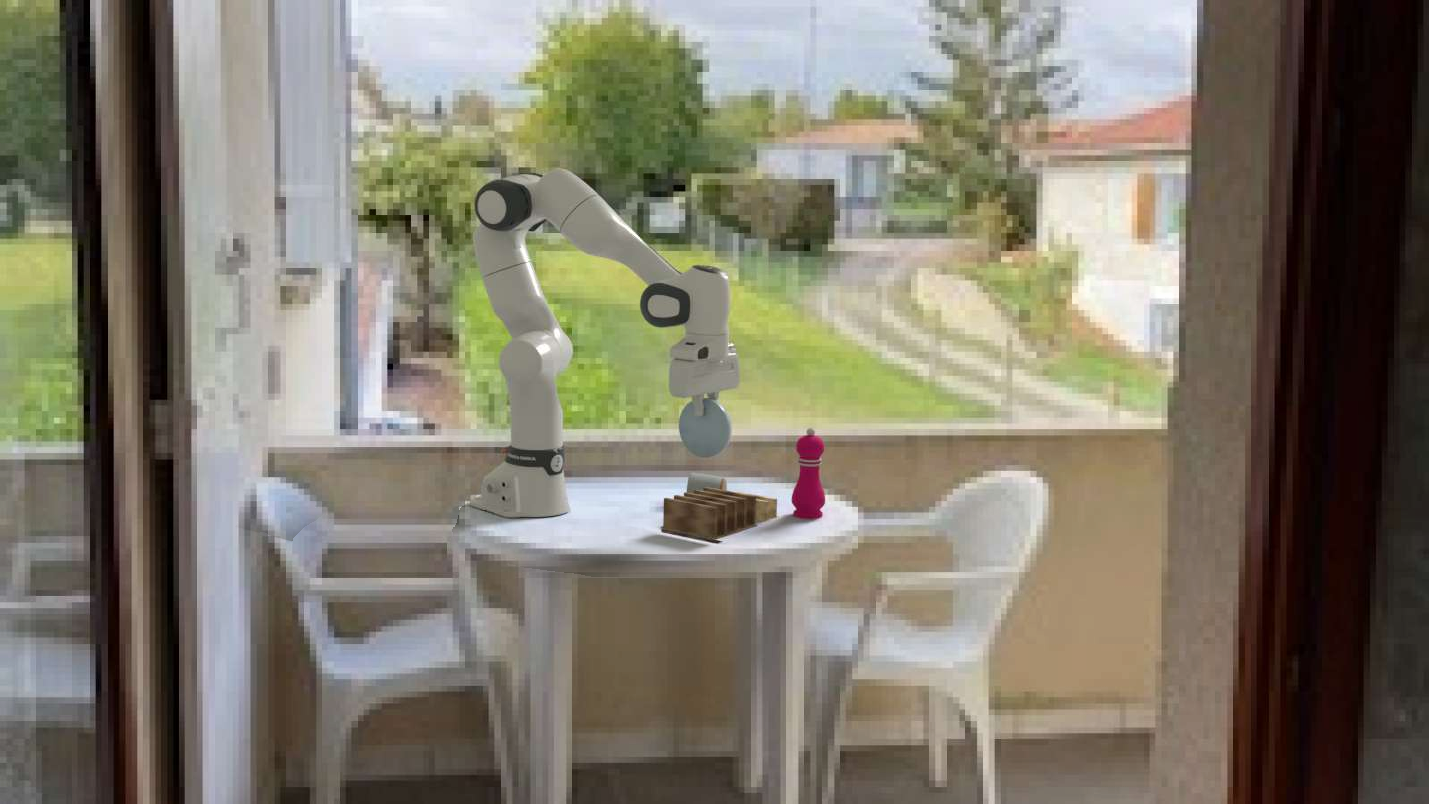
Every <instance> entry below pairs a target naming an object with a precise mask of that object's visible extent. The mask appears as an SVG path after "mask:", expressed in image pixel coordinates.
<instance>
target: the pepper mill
mask: <svg viewBox="0 0 1429 804" xmlns="http://www.w3.org/2000/svg"><path fill="white" fill-rule="evenodd" d="M815 433H816V431H815V429H814V428H812V427H809V428H807V429H806V434H804V435H803V436H800V437H799V438H798V440H797V442H796V446H795V449H796V453H797V454H798V455H799V457H798V458H797V460H798V461H797V464H798V465H799V475H798V479H797V482H796V484H795V486H794V489H793V490H792V494H791V503H792V506H794V508H795V510H794V511H793V513H792V514H793V517H795V518H798V519H802V520H803V519H804V520H806V519H807V520H813V519H814V520H816V519H820V518H822V517H823V515H824V514H823V511H822V508H823V507H824V506H825V504H826V493H825V491H824V488H823V486H822V482H821V478H820V466H821V465H822V458H821V456H822V455H823V454H824V452H825V443H824V441H823V439H822V438H821V437H820V436H818V435H815Z"/></svg>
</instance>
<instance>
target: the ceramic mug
mask: <svg viewBox="0 0 1429 804" xmlns="http://www.w3.org/2000/svg"><path fill="white" fill-rule="evenodd" d="M727 484H728V483H727V480H726V479H725V478H724V477H722V476H719V475H711V474H704V473H697V472H690V474H689V476H688V478H687V485H686V492H688V493H694V490H702V491H703V487H709V488H715V489H720V490H726V491H728V489H727V488H728V487H727Z"/></svg>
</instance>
